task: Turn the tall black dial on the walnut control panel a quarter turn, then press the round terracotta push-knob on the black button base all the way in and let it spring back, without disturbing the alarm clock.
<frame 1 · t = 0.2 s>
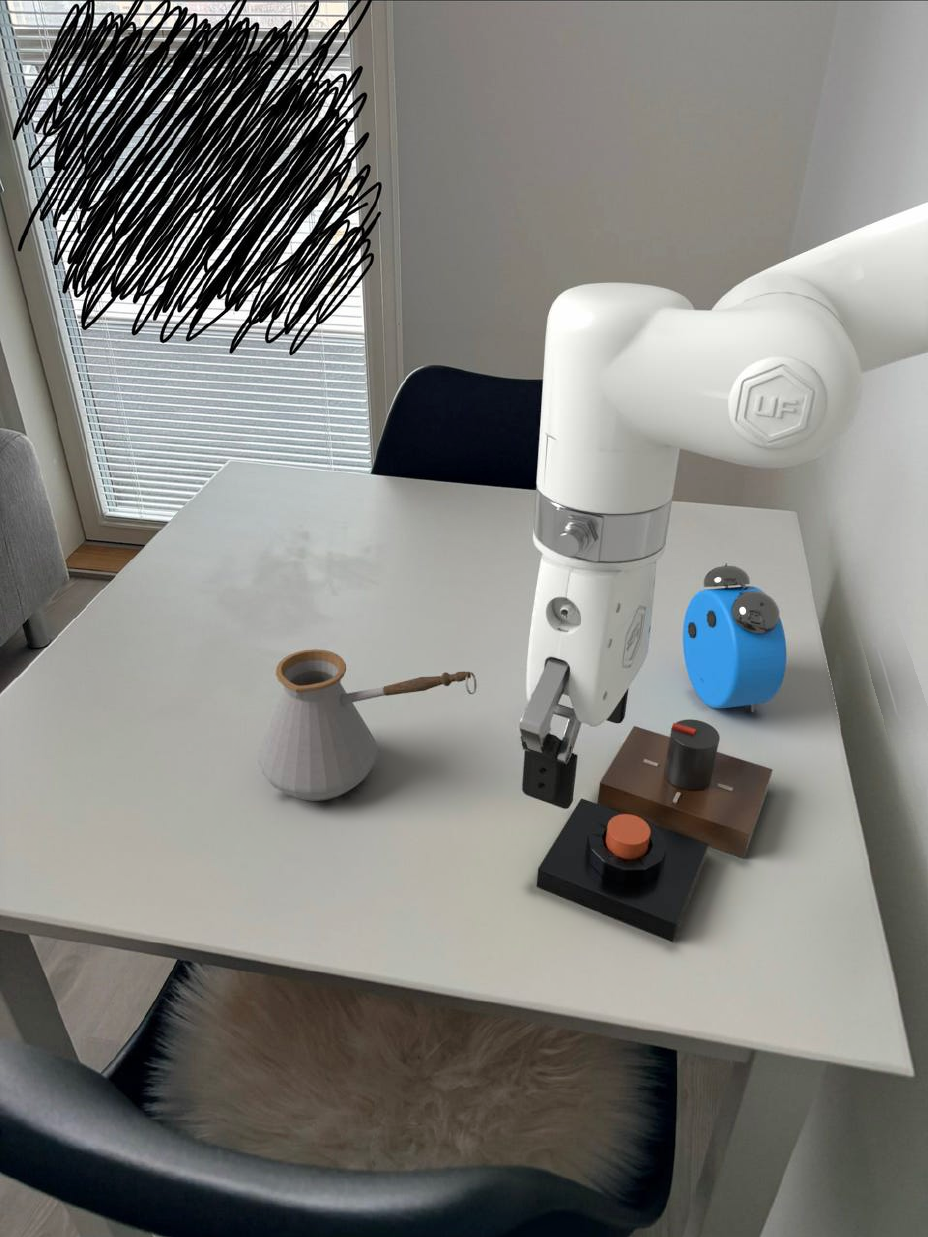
hand: (575, 755, 58), 21 cm above the table, tool pointing down, fingers open, 9 cm apart
black button base: (622, 874, 77), on the table
dial panel: (682, 799, 85), on the table
dial: (691, 753, 82), point 6 cm above the table, hinge at 0.0°
alarm clock: (720, 697, 100), on the table
coffee pot: (367, 785, 86), on the table
push knob: (627, 836, 74), point 4 cm above the table, slide at 0.1 cm
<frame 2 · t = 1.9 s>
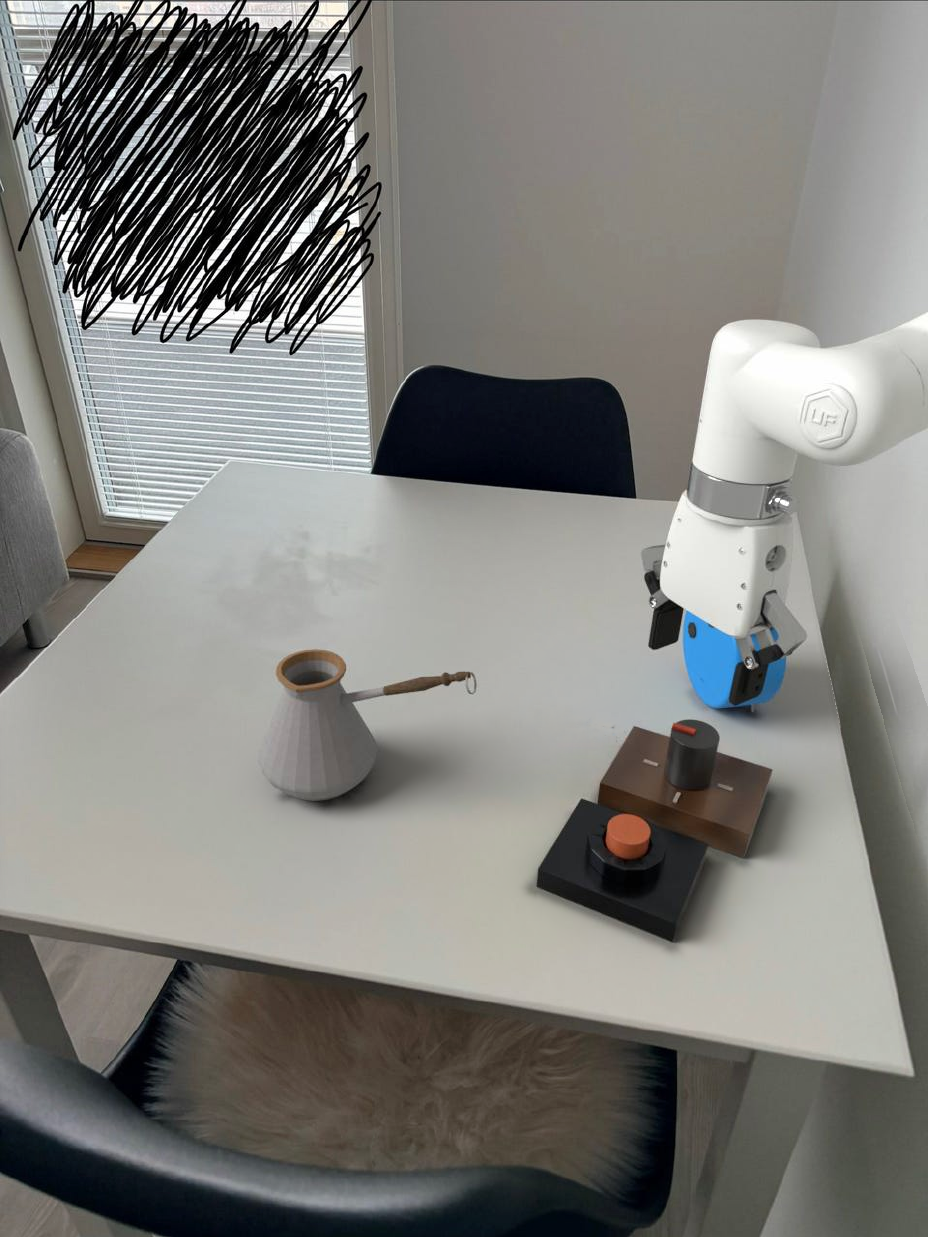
hand: (701, 671, 77), 15 cm above the table, tool pointing down, fingers open, 9 cm apart
nothing on the table moved.
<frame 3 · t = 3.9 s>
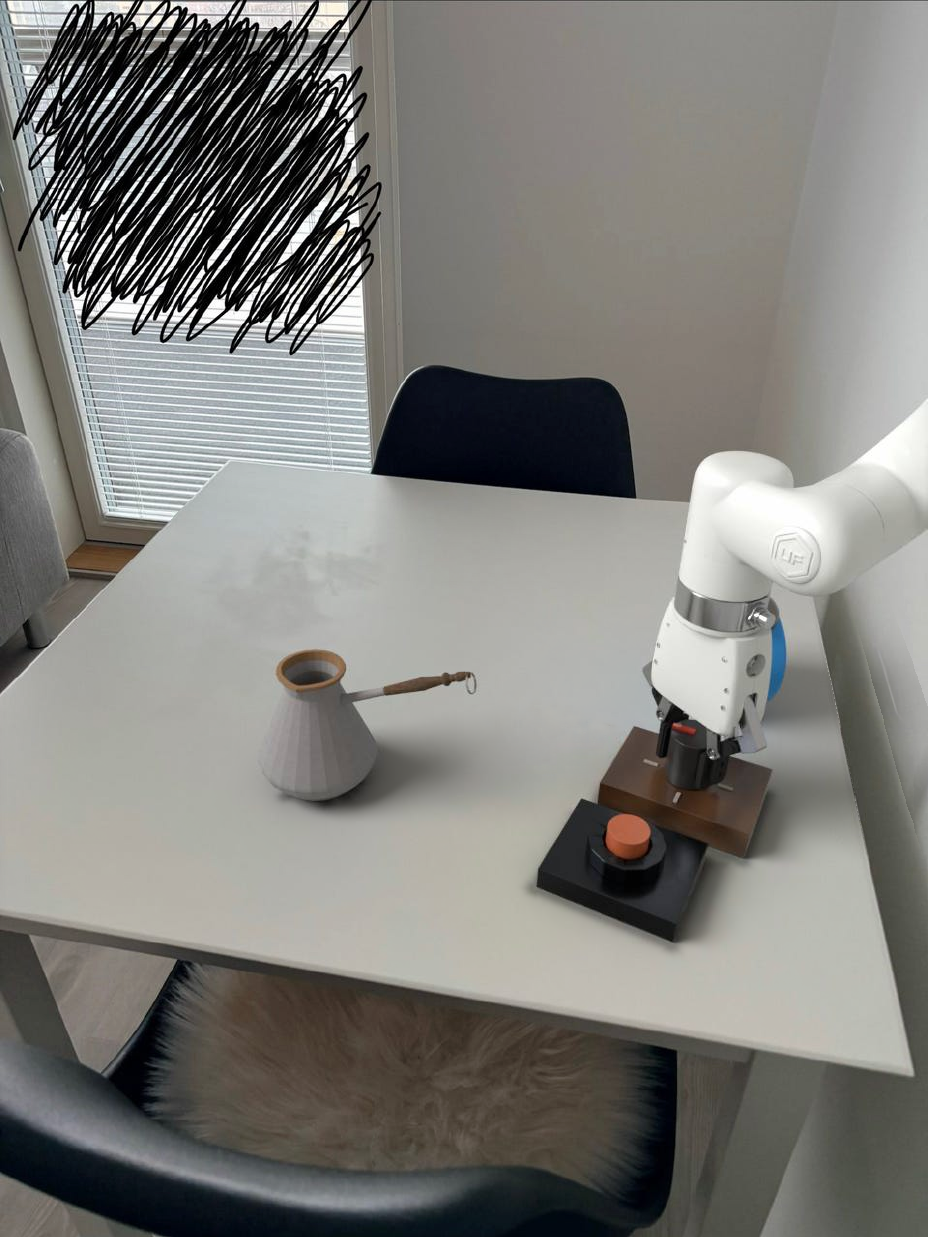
hand: (689, 766, 83), 4 cm above the table, tool pointing down, fingers closed on dial, 4 cm apart
dial: (691, 753, 82), point 6 cm above the table, hinge at -0.1°, touching gripper
everything else where it was.
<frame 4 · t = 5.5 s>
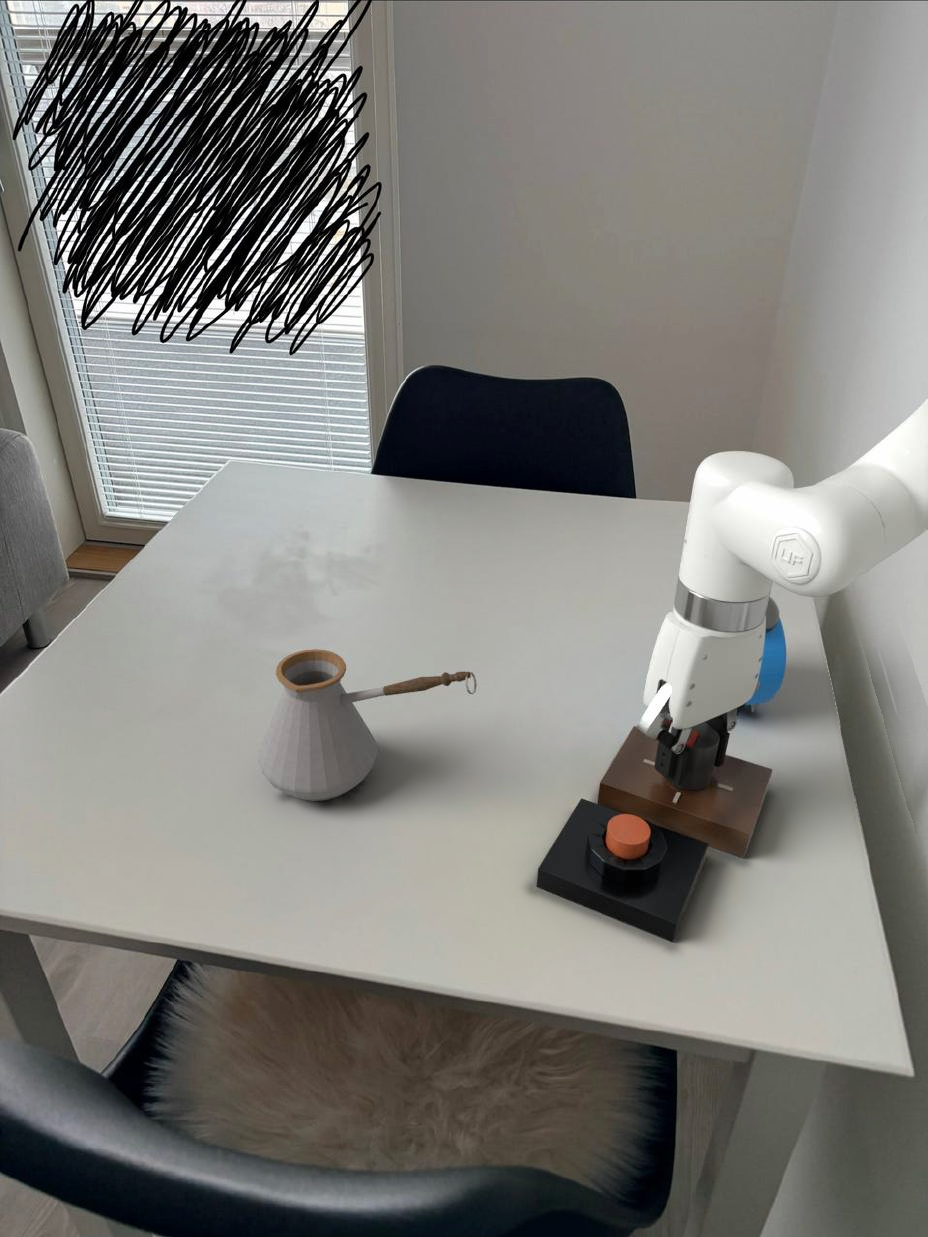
hand: (688, 766, 83), 4 cm above the table, tool pointing down, fingers closed on dial, 4 cm apart
dial: (691, 753, 82), point 6 cm above the table, hinge at 90.8°, touching gripper
everything else where it was.
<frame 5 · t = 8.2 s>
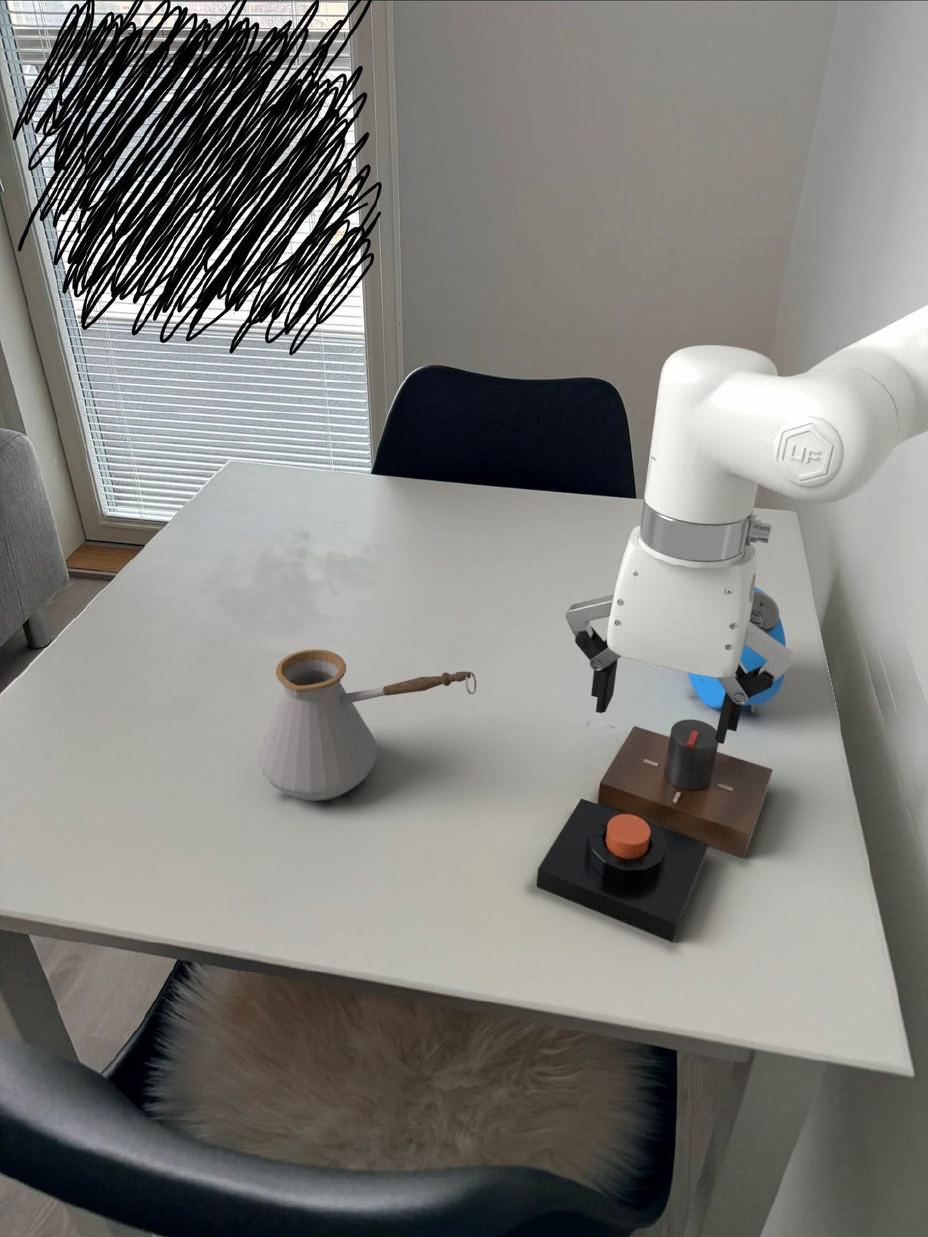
hand: (661, 718, 71), 15 cm above the table, tool pointing down, fingers open, 9 cm apart
dial: (691, 753, 82), point 6 cm above the table, hinge at 91.7°
everything else where it was.
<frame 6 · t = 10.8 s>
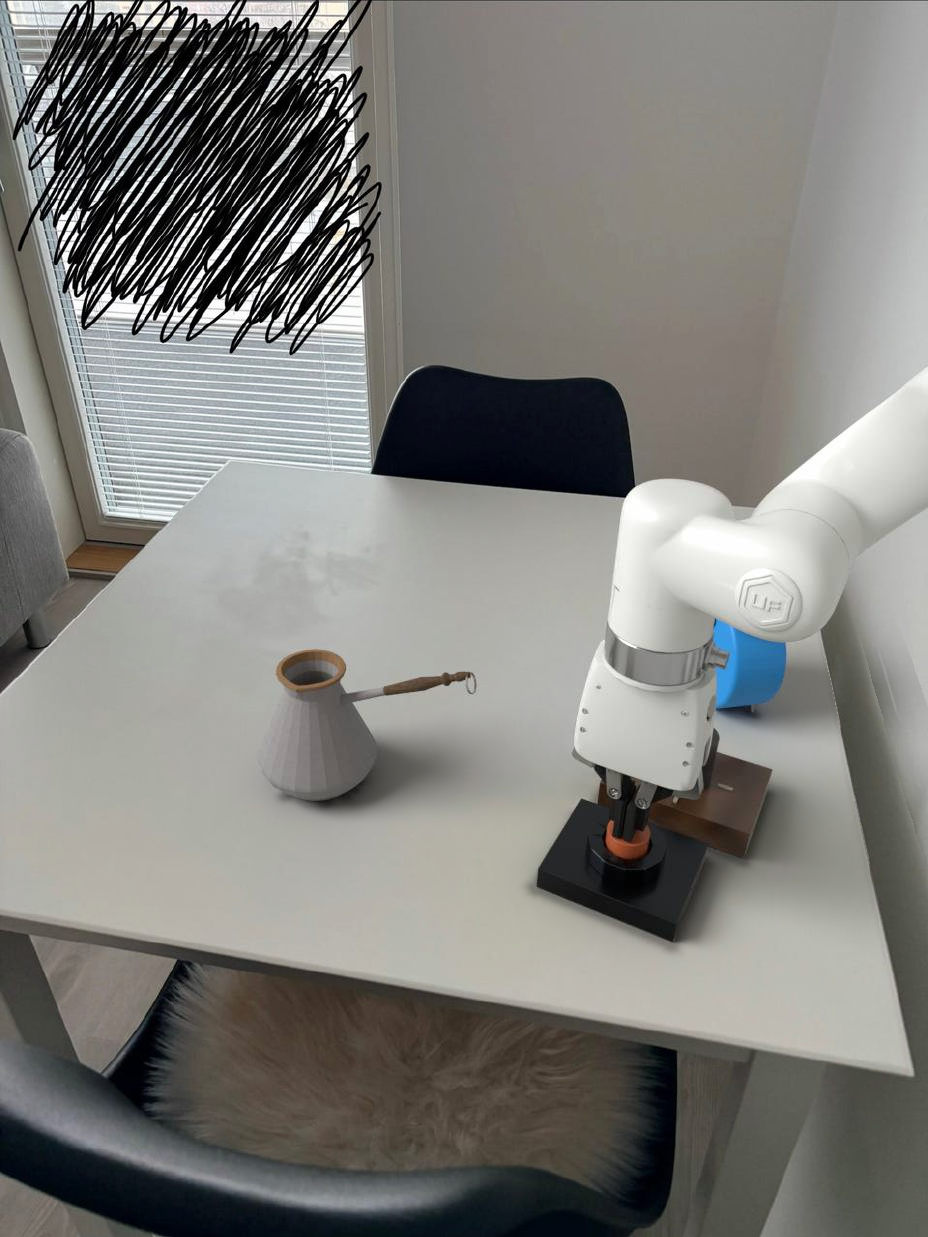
hand: (626, 829, 74), 5 cm above the table, tool pointing down, fingers closed
push knob: (627, 837, 74), point 4 cm above the table, slide at -0.1 cm, touching gripper
everything else where it was.
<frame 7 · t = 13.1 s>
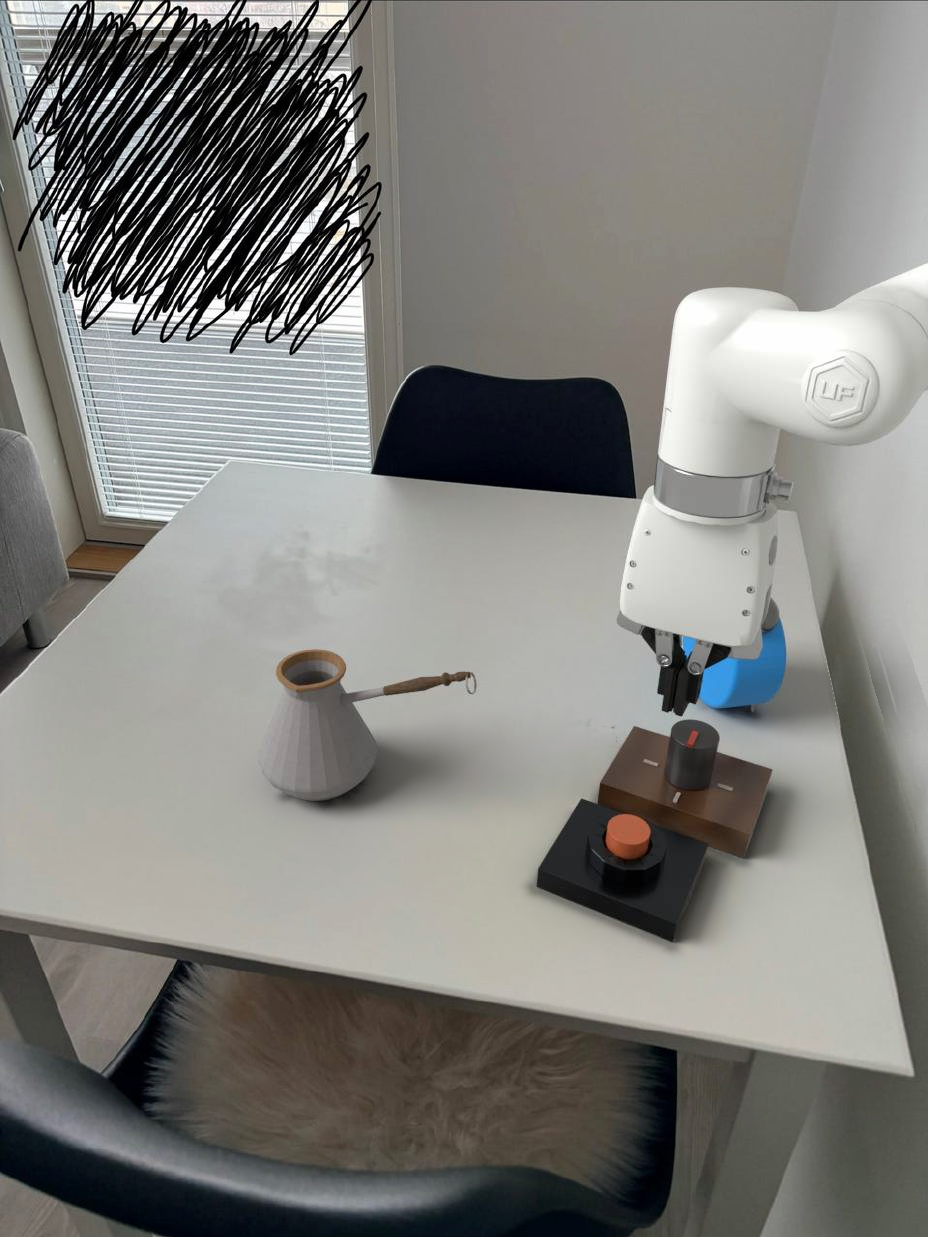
hand: (676, 704, 68), 18 cm above the table, tool pointing down, fingers closed
push knob: (627, 836, 74), point 4 cm above the table, slide at 0.1 cm
everything else where it was.
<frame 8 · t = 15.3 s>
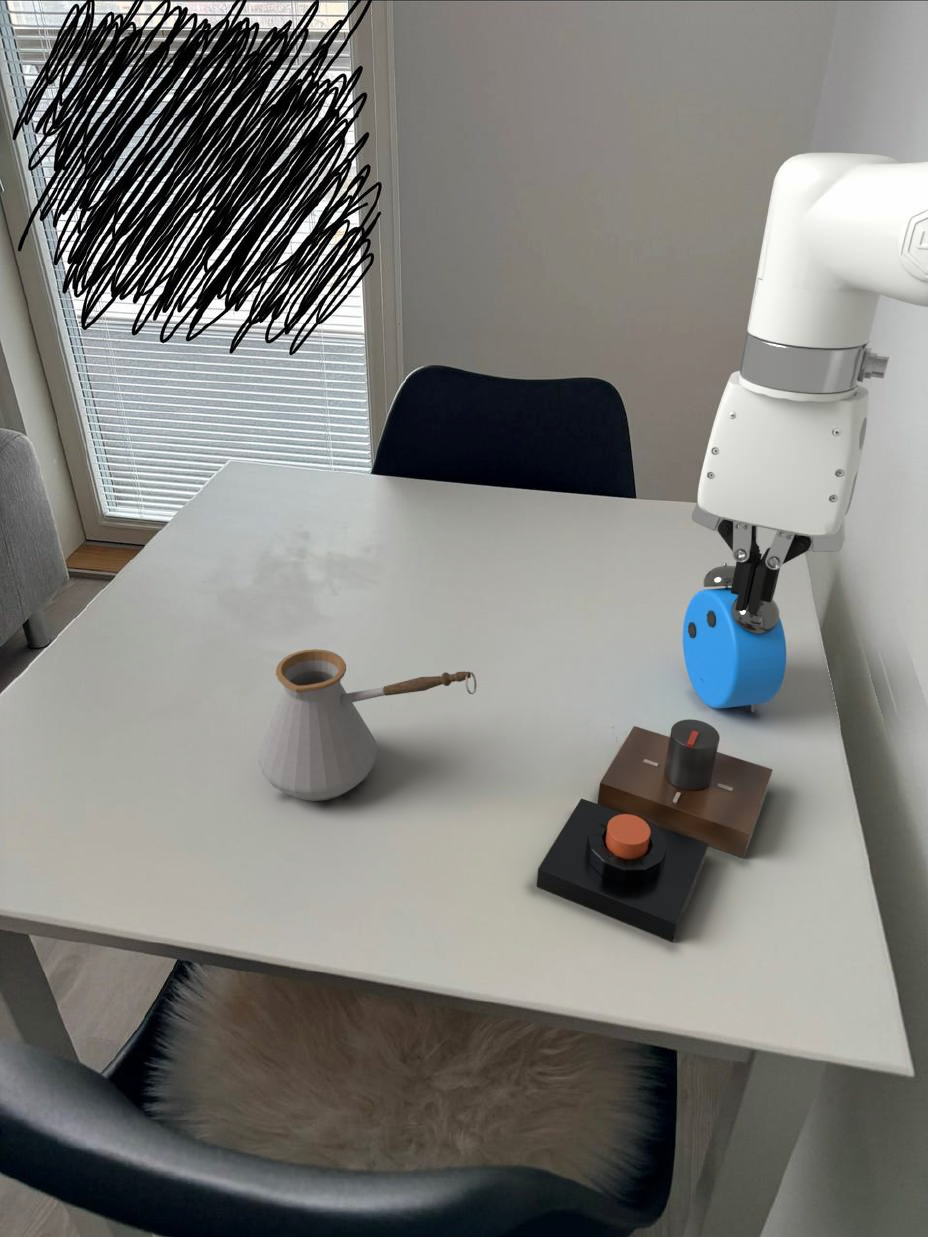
hand: (749, 604, 67), 25 cm above the table, tool pointing down, fingers closed
nothing on the table moved.
at the end: dial at +92° (first picture: +0°); push knob pushed in 1.1 cm at the most during the clip, back to where it started at the end; alarm clock moved 0.2 cm from its start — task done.
